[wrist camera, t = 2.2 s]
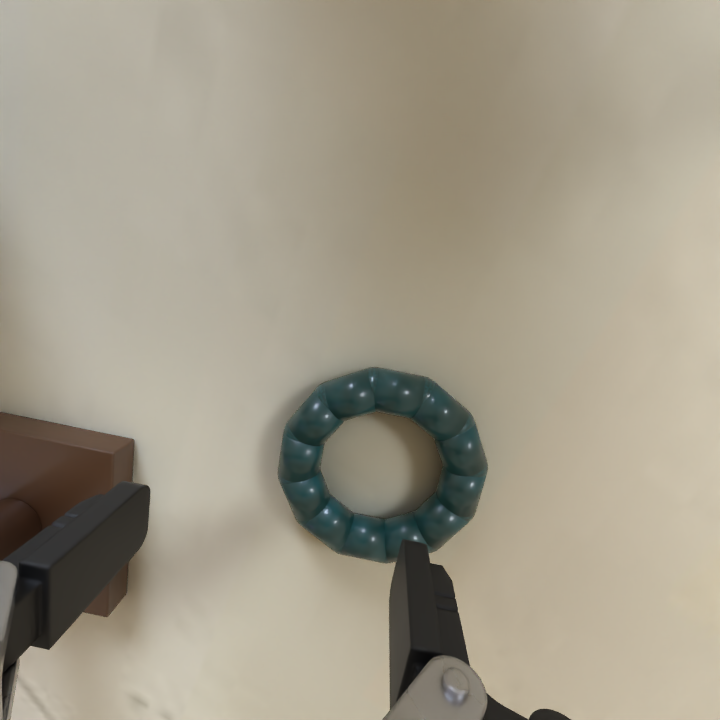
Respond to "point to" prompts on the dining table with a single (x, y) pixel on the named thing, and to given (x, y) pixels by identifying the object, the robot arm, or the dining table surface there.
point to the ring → (396, 398)
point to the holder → (57, 483)
